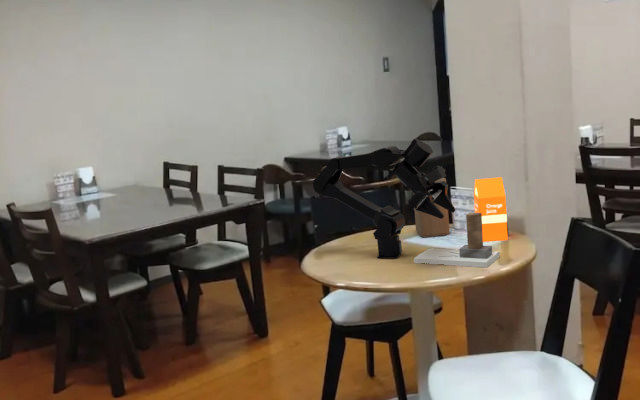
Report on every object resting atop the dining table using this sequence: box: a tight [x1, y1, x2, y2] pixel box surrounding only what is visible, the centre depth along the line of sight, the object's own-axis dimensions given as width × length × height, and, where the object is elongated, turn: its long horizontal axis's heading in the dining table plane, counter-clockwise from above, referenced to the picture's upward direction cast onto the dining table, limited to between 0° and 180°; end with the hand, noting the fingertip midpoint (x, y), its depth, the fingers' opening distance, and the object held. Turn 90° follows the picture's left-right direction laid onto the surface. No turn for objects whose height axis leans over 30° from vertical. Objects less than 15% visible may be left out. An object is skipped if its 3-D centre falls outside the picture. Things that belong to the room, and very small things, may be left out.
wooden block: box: [412, 177, 450, 238], centre depth 233 cm, size 10×10×20 cm
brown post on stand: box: [458, 212, 493, 259], centre depth 193 cm, size 8×5×12 cm, turn 58°
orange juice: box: [473, 176, 509, 243], centre depth 218 cm, size 8×9×20 cm
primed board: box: [413, 247, 500, 268], centre depth 198 cm, size 22×12×2 cm, turn 58°
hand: (448, 214), depth 196 cm, fingers open, 9 cm apart
